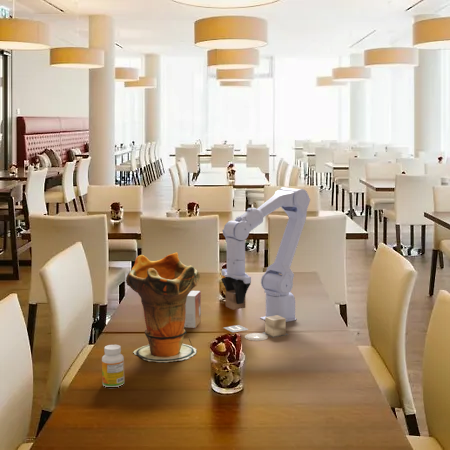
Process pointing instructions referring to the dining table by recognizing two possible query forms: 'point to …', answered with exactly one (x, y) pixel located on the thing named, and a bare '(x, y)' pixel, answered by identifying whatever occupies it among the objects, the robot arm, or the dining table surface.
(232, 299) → the walnut block
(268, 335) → the code tile
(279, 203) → the robot arm
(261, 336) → the coaster
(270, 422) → the dining table surface
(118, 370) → the supplement bottle
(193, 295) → the small box
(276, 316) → the maple block
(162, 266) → the decorative vase
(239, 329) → the code tile
